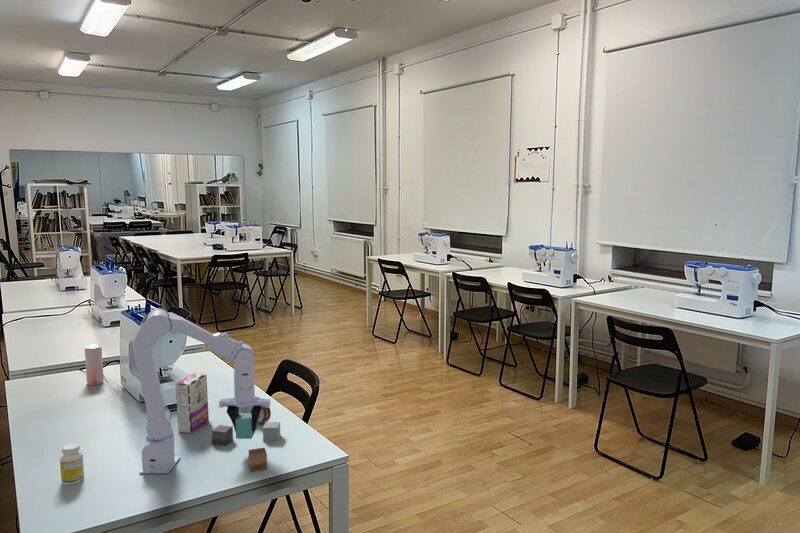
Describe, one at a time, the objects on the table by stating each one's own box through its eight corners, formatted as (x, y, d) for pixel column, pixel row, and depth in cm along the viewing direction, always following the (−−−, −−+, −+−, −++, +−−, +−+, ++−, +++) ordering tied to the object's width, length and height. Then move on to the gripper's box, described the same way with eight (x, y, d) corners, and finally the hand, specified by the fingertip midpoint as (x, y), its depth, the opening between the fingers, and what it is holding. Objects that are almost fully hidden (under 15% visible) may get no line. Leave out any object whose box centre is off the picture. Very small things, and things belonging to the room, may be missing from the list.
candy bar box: (195, 419, 200) (193, 372, 198) (209, 420, 199) (207, 373, 197) (177, 432, 189) (174, 383, 187) (191, 433, 188) (189, 384, 186)
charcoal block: (225, 446, 179) (224, 432, 179) (212, 444, 181) (211, 430, 180) (233, 440, 184) (232, 426, 183) (220, 438, 185) (219, 424, 184)
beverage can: (87, 381, 236) (84, 345, 234) (104, 379, 239) (101, 343, 237) (86, 386, 231) (84, 349, 229) (103, 384, 234) (101, 347, 232)
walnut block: (267, 469, 165) (266, 454, 165) (250, 472, 164) (250, 456, 163) (265, 462, 169) (264, 447, 169) (248, 464, 168) (248, 449, 167)
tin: (271, 424, 196) (271, 399, 195) (264, 427, 194) (264, 402, 193) (240, 414, 204) (239, 390, 203) (233, 417, 202) (232, 393, 201)
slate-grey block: (277, 441, 183) (277, 427, 182) (263, 441, 183) (262, 427, 182) (280, 435, 188) (280, 421, 187) (266, 435, 187) (265, 421, 187)
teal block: (251, 438, 172) (251, 419, 172) (236, 438, 172) (235, 419, 172) (255, 432, 177) (254, 413, 176) (240, 432, 177) (239, 413, 176)
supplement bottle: (80, 484, 156) (78, 450, 155) (58, 486, 155) (55, 451, 154) (87, 474, 161) (84, 441, 160) (65, 476, 160) (63, 442, 159)
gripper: (215, 390, 168) (216, 435, 170) (266, 390, 169) (267, 435, 170) (222, 382, 175) (223, 425, 177) (271, 382, 176) (272, 426, 177)
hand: (245, 430), depth 174 cm, fingers closed on teal block, 4 cm apart
